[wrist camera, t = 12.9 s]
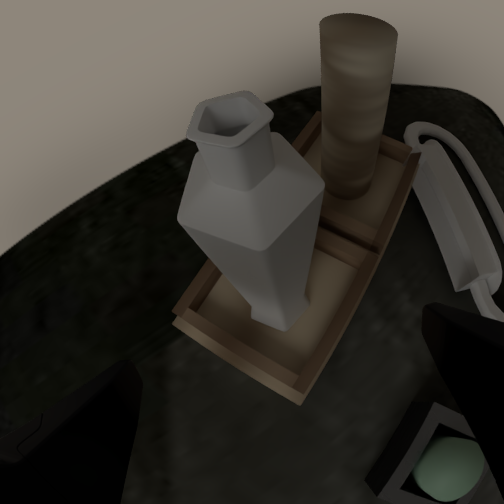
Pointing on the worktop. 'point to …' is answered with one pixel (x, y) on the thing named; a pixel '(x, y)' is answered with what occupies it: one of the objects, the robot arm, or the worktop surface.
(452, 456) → the button
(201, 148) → the perfume bottle
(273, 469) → the worktop surface
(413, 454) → the button housing
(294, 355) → the divided wooden tray
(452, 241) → the oval loop handle
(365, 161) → the wooden billet
